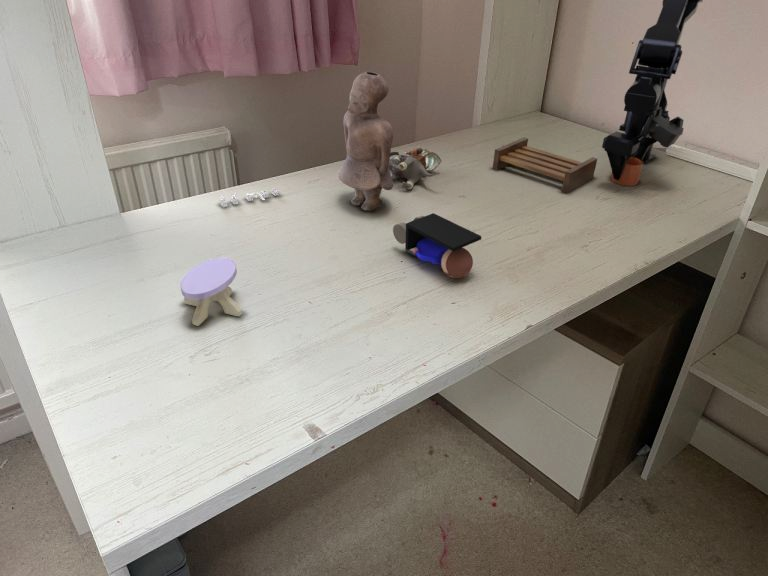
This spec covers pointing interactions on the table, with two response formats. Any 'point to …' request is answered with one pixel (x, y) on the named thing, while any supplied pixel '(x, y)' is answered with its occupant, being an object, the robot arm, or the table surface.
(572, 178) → the rack
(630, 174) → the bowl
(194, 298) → the toy table
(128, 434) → the table surface
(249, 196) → the figurines set
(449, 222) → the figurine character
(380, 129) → the clay figurine
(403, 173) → the figurine
